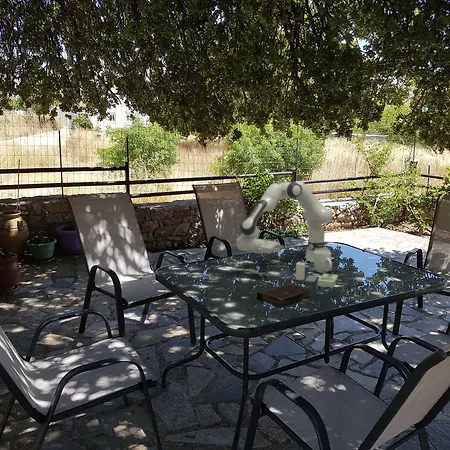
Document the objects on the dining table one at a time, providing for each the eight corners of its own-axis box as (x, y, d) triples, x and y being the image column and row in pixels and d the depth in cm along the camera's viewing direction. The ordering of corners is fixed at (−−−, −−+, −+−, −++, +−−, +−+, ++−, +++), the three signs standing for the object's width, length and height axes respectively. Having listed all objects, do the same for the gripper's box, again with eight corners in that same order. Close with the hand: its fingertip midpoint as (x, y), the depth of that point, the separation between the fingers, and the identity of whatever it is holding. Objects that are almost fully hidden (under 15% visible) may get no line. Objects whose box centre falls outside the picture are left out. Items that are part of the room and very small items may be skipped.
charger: (297, 277, 279) (298, 260, 277) (304, 278, 277) (305, 261, 275) (295, 279, 275) (296, 262, 273) (303, 280, 273) (303, 262, 271)
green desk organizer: (323, 276, 282) (323, 271, 281) (337, 278, 278) (338, 272, 278) (317, 286, 262) (317, 280, 261) (332, 288, 258) (333, 282, 258)
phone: (308, 276, 280) (308, 274, 280) (318, 278, 278) (318, 276, 278) (304, 282, 268) (304, 280, 268) (314, 283, 266) (314, 281, 266)
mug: (337, 274, 286) (338, 255, 284) (324, 276, 281) (325, 256, 279) (323, 268, 299) (323, 250, 297) (309, 270, 294) (310, 251, 292)
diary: (256, 299, 240) (256, 290, 239) (287, 290, 256) (287, 281, 255) (281, 308, 226) (282, 299, 225) (312, 298, 242) (313, 289, 241)
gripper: (256, 244, 272) (278, 247, 267) (265, 238, 291) (286, 241, 286) (255, 254, 273) (277, 257, 268) (264, 248, 292) (285, 250, 287)
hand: (282, 248), depth 277 cm, fingers open, 8 cm apart
